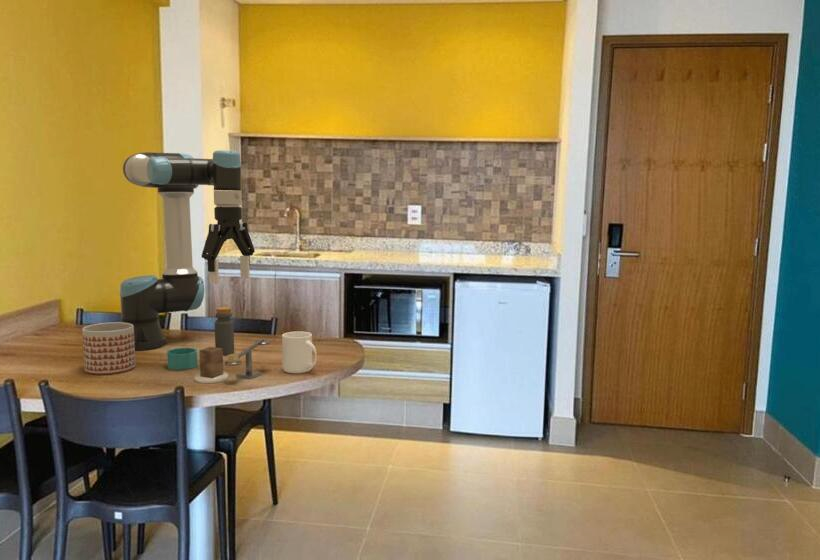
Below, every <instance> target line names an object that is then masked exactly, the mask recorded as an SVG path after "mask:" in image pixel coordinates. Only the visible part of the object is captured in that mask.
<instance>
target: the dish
mask: <svg viewBox="0 0 820 560" xmlns="http://www.w3.org/2000/svg"><path fill="white" fill-rule="evenodd" d="M228 379H229V372H226V371H223V375H220V376H218V377H215V378H207V377H201V376H200V372H198V373H196V374H195V375H194V382H196V383H199V384H216V383H222V382H225V381H227V380H228Z"/></svg>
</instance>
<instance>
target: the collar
mask: <svg viewBox="0 0 820 560" xmlns="http://www.w3.org/2000/svg"><path fill="white" fill-rule="evenodd" d="M166 357H167V358H166V359H167V361H166V362H167V369H168V370H174V371H182V370H183V371H184V370H190V369H191V370H192V369H194V368H196V367H197V368H198V366H199V364H198V349H197V348H194V347H179V348H178V347H176V348H172V349H168V350H167V351H166Z"/></svg>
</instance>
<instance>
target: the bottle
mask: <svg viewBox="0 0 820 560" xmlns="http://www.w3.org/2000/svg"><path fill="white" fill-rule="evenodd" d="M215 309H216V310H215V311H216V313H215V318H217V320H215V321H214V342H215V344H214V347H216V348H223V357H224V356H225V357H228V355H230V354H235V332H234V330H235V329H234V321H233V320H232V319H231V318H232V317H233V313H232V312H231V311H232V307H229V306H219V307H216V308H215Z"/></svg>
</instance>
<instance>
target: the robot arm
mask: <svg viewBox="0 0 820 560" xmlns="http://www.w3.org/2000/svg"><path fill="white" fill-rule="evenodd" d="M122 173H123V175H124V178H125V179H126V180H127V181H128V182H129V183H131V184H133V185H135V186H139V187H142V188H151V189H152V188H155V189H157V194H158V195H159V196H160V197H162V200H163V201H162V202H163V203H162V204H163V205H162V206H163V223H164V224H163V225H164V240H165V241H164V242H165V243H164V244H165V265H166V268H165V270H164V271H163V272H162V273H161V274H162V275H161V276H162V278H159V277H158V276H157V275H154V274H149V275H139V276H133V277H130V278H127V279H124V280H123V281H122V282H121V283H120V287H119V288H120V290H119V297H120V312H121V313H120V314H121V322H123V323H130V324H132V325H133V326H134V342H135V351H145V350H153V349H157V348H161V347H163V346H165V345H166V337H165V334H164V333H163V330H162V326H161V324H160V317H159V316H160V314H164V313H165V314H167V313H174V312H188V311H193V310H198V309H199V308H200V307H201V305H202V303H203V302H204V298H205V284H204V279H203V278H202V276H199V275H198V271H197V270H196V269H195V268H194V267H193V250H192V249H193V247H192V224H191V202H190V201H191V200H190V198H191V197H192V196H193V195H194V194H195V191H194V190H195V189H197V188H198V187H199V186H213V204H214V205H215V207H214V208H213V209H214V212H213V213H214V220H216V221H217V223H209V225H208V232H207V237H206V238H205V239H206V240H205V242H204V246H203V249H202V253H201V258H202V259H204V260H206V261H207V272H208V279H209V280H208V282H209V284H214V285H215V284H216V285H218V284H219V283H220V282H219V281H220V280H219V279H220V278H219V276H220V275H219V260H218V259H217V258H218V256H219V253H220V251H221V250H222V248H223V246H224V244H225V242H227V240H233V242H234V243H235V245H236V247H237V248H238V250H239V252H240V254H241V255H240V256H239V265H240V266H239V267H240V272H239V273H240V279H241V278H243V279H250V277H251V276H250V275H251V273H250V266H251V258H250V257H251V256H252V257H253V255H254V253H255V248H254V244H253V241H252V239H251V236H250V233H249V227H248V223H247V222H246V221H245V222H244V221H243V222H242V218H243V211H242V210H243V209H242V207H241V205H242V163H241V154H240V152H238V151H236V150H225V149H224V150H222V149H221V150H220V149H219V150H215V151H213V153H212V158H194V157H193V156H192V155H191V154H186V153H179V152H177V153H176V152H149V151H147V152H146V151H143V152H138V153H135V154H132V155H129V156H128V157H127V158H126V159H125V161H124V162H123V165H122ZM240 221H241V222H240Z"/></svg>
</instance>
